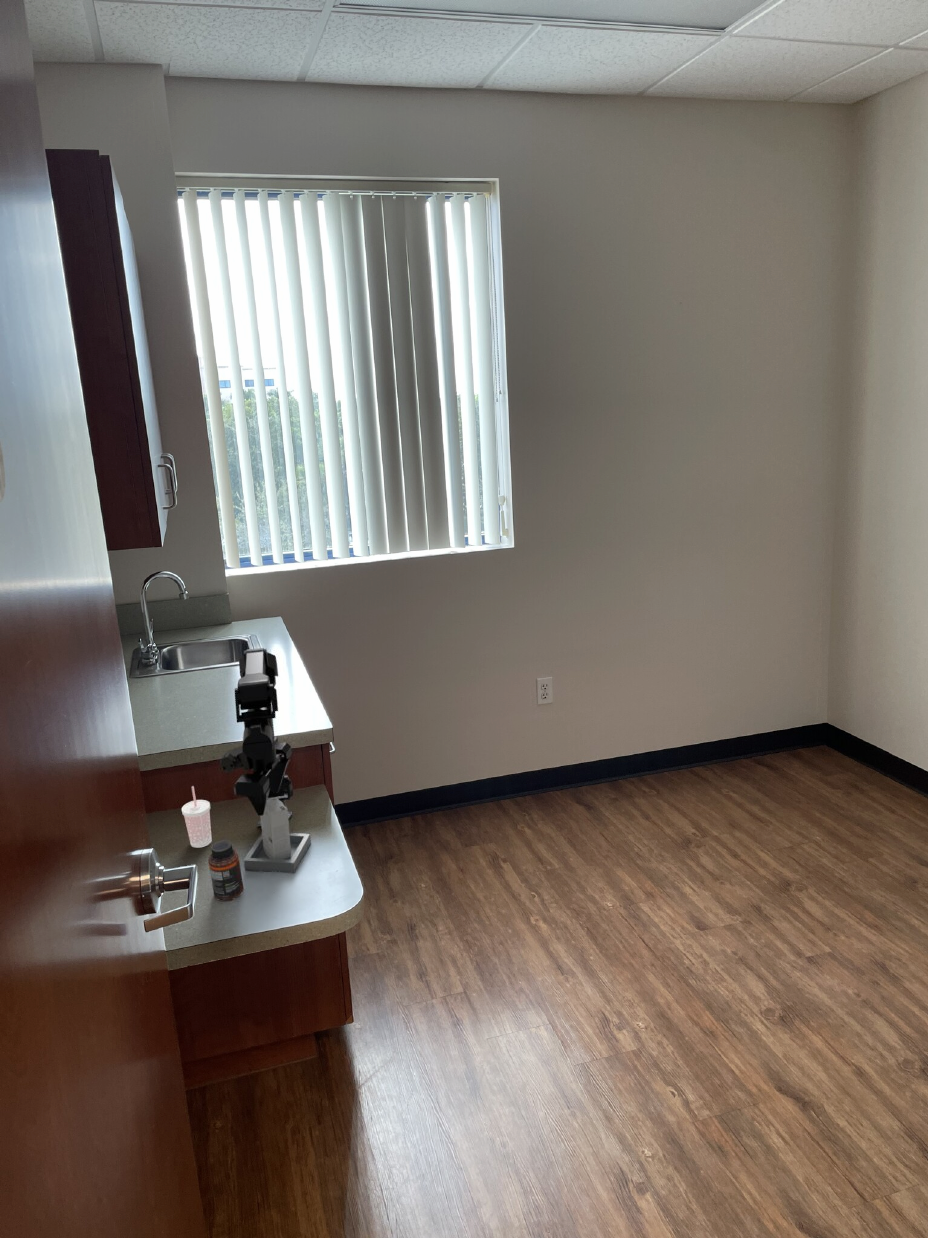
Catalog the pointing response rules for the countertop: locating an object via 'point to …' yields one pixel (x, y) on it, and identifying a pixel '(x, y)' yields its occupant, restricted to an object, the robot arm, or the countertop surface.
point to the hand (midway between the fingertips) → (268, 803)
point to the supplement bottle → (225, 871)
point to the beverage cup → (198, 821)
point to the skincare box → (276, 830)
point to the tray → (261, 861)
